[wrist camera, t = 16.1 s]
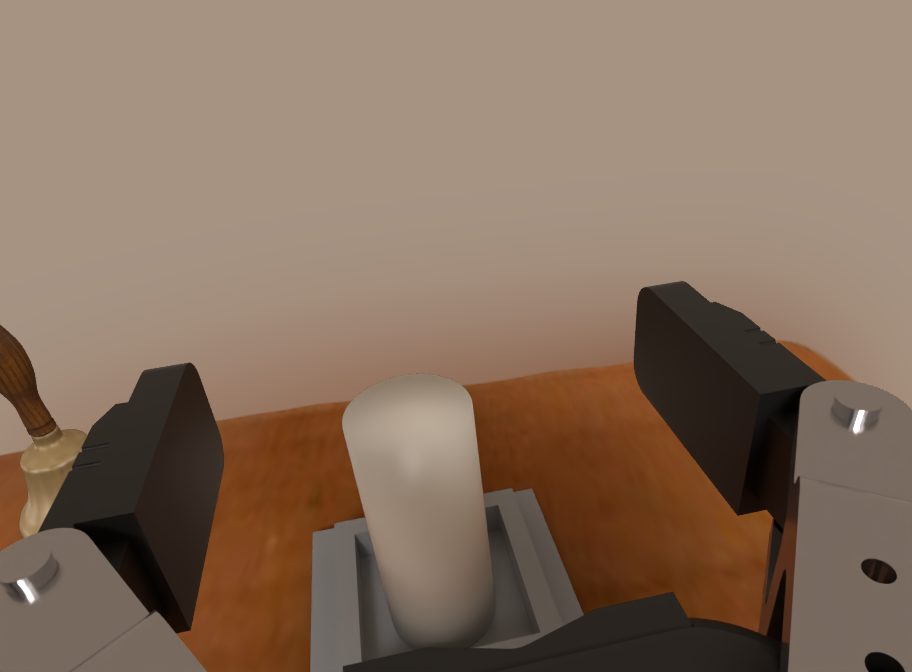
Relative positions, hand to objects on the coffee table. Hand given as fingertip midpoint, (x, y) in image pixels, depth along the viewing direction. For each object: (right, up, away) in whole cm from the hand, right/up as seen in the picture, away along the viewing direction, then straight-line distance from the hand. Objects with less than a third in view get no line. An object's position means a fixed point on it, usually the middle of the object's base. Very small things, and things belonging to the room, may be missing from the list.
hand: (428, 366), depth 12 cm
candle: (0, -15, +25) cm, 29 cm away
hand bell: (-28, -12, +36) cm, 47 cm away
